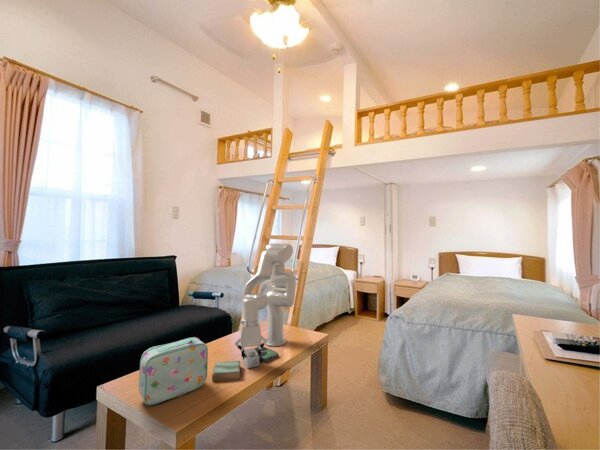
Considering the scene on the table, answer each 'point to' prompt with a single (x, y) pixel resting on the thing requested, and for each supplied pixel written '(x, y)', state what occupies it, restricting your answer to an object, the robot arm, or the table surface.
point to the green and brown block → (226, 371)
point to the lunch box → (172, 370)
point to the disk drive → (267, 354)
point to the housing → (251, 358)
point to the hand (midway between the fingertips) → (251, 357)
